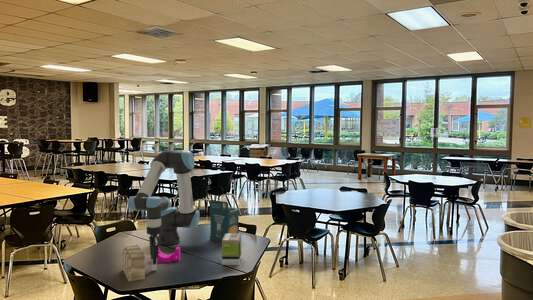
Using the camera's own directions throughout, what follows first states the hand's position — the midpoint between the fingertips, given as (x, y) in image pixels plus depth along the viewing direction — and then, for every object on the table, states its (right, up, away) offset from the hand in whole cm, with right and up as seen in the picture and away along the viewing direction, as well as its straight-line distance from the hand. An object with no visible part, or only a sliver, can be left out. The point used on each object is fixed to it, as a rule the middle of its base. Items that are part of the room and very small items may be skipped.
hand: (154, 269), depth 215 cm
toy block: (+2, -1, +18) cm, 18 cm away
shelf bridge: (-9, -1, -5) cm, 11 cm away
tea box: (+40, -1, +18) cm, 44 cm away
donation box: (+32, +2, +65) cm, 72 cm away
